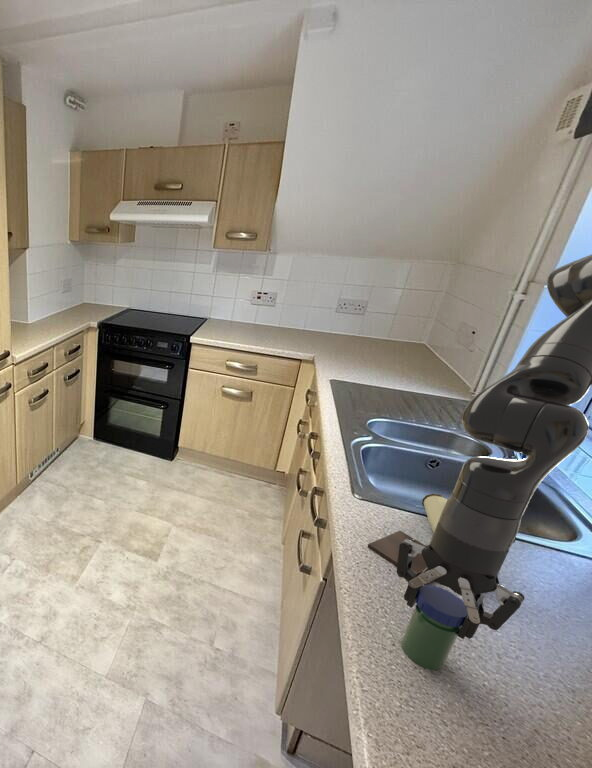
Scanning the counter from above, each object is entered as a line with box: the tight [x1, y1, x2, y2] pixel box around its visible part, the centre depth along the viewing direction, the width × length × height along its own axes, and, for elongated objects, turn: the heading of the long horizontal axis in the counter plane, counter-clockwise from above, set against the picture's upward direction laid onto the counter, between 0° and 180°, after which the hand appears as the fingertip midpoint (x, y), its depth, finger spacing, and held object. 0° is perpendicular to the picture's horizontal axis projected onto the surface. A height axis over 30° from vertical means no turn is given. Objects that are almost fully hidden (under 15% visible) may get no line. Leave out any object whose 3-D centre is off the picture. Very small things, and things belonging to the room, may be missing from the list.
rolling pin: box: [421, 493, 448, 534], centre depth 88 cm, size 32×6×5 cm, turn 149°
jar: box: [400, 604, 461, 671], centre depth 64 cm, size 5×5×10 cm
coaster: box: [367, 530, 435, 586], centre depth 85 cm, size 11×11×1 cm
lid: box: [415, 584, 468, 627], centre depth 62 cm, size 6×6×2 cm
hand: (436, 618), depth 63 cm, fingers closed on lid, 5 cm apart
